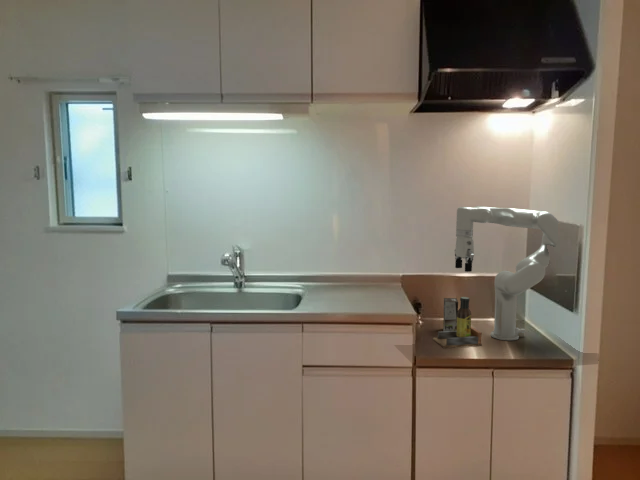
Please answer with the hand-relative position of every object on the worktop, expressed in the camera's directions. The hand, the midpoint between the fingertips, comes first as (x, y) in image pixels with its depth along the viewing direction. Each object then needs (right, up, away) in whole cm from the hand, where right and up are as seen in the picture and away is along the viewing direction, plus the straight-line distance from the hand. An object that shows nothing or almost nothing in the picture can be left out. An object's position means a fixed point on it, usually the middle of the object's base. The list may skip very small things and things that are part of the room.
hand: (463, 269), depth 223 cm
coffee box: (-3, -32, +11) cm, 34 cm away
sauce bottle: (-1, -32, -4) cm, 33 cm away
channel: (-5, -33, -5) cm, 34 cm away
